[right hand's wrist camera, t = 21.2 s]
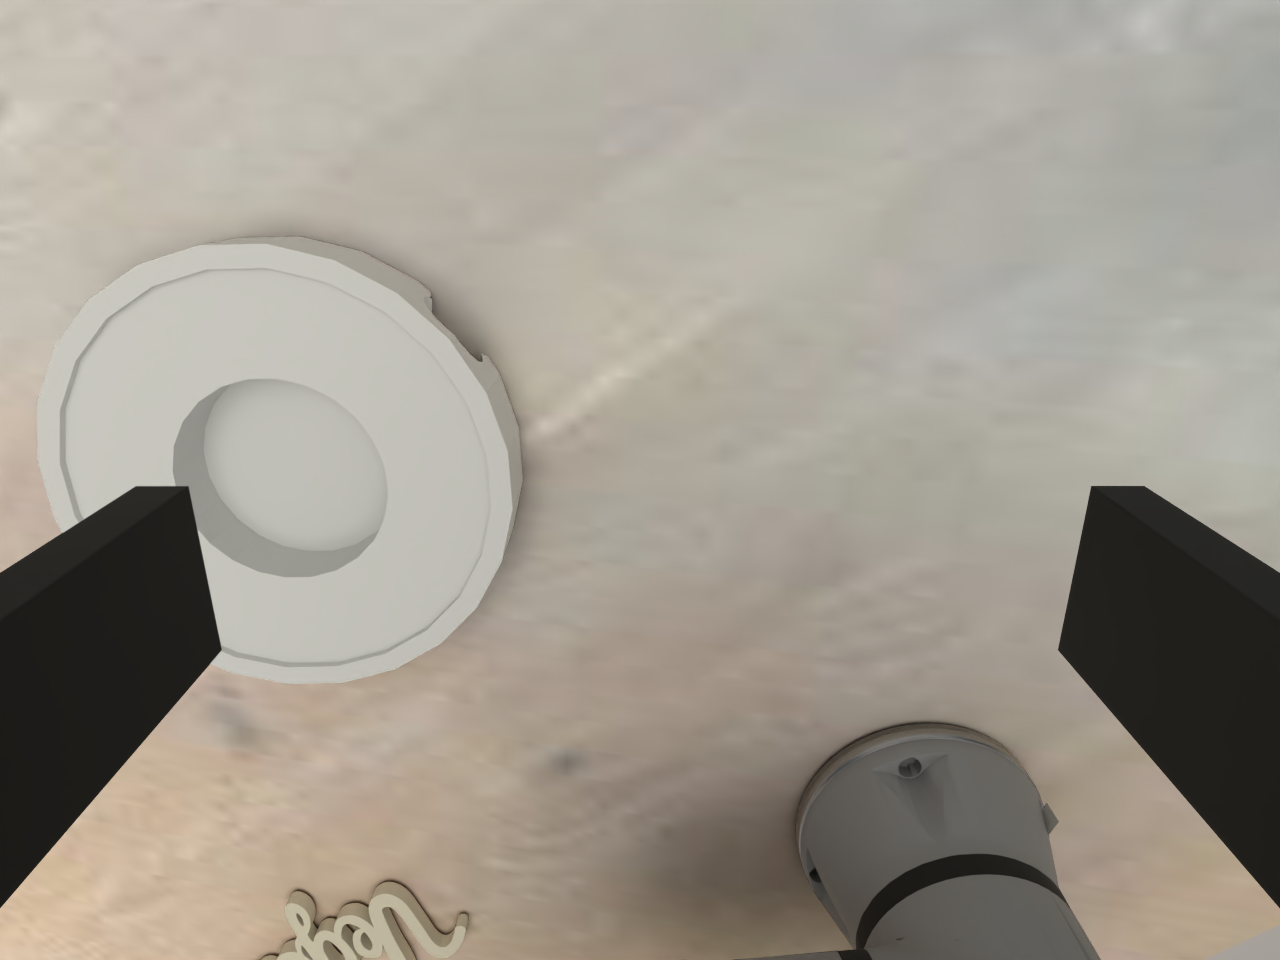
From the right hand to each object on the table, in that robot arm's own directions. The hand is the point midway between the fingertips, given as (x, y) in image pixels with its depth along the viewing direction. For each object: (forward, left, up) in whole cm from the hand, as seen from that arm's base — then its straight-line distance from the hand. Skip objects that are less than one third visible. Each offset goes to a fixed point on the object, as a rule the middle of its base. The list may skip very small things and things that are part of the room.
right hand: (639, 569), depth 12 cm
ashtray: (-17, +11, -32) cm, 37 cm away
